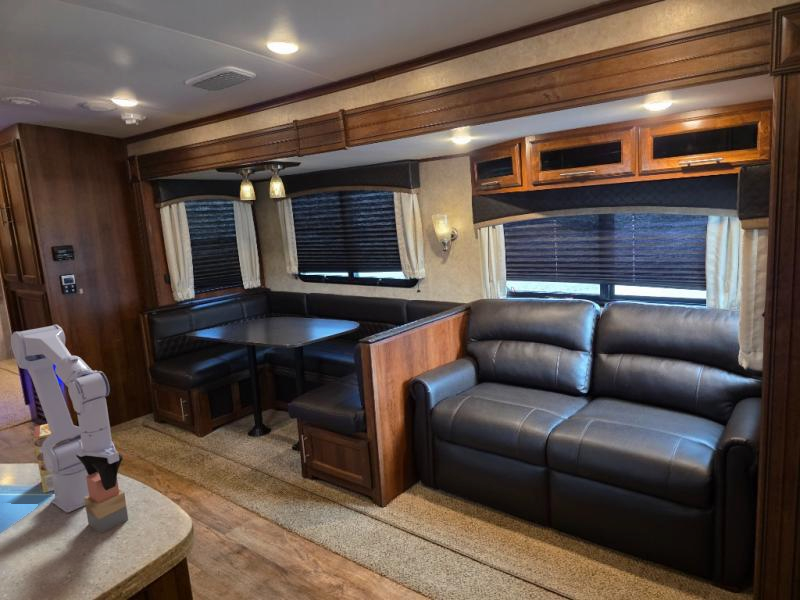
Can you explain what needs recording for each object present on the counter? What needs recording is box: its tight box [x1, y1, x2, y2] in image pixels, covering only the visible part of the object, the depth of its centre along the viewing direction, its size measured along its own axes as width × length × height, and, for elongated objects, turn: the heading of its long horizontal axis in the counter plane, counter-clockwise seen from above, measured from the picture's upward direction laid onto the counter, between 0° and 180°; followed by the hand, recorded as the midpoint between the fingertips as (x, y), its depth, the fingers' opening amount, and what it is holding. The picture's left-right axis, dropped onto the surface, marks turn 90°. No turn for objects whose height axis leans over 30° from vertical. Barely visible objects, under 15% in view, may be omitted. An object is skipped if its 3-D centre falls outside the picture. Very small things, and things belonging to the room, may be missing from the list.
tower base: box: [86, 506, 129, 534], centre depth 118 cm, size 6×6×4 cm
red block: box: [86, 472, 120, 503], centre depth 117 cm, size 4×4×5 cm
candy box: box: [32, 423, 57, 494], centre depth 135 cm, size 9×4×15 cm, turn 33°
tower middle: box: [84, 489, 127, 519], centre depth 118 cm, size 6×6×4 cm
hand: (103, 483), depth 117 cm, fingers open, 6 cm apart
